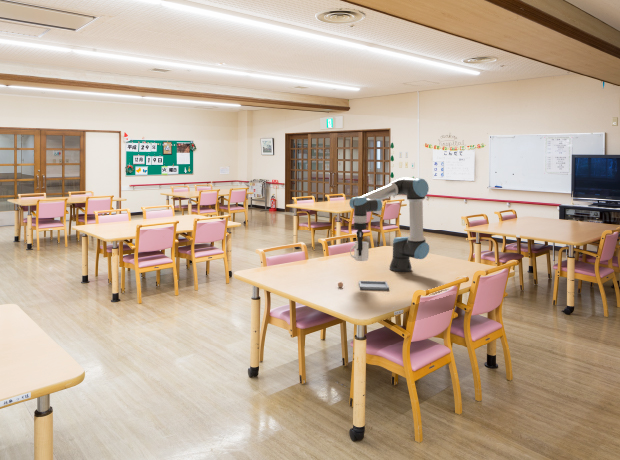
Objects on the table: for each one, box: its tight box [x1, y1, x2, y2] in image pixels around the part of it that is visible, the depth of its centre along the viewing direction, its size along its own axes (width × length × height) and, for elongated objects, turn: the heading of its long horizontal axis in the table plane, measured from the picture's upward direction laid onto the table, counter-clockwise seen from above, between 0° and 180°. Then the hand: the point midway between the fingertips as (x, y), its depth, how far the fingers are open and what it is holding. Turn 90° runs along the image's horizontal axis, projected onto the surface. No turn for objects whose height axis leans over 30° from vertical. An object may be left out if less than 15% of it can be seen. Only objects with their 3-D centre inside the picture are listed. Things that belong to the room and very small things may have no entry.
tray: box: [358, 280, 390, 291], centre depth 294 cm, size 17×14×2 cm
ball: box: [337, 281, 344, 288], centre depth 292 cm, size 3×3×3 cm
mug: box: [349, 240, 370, 262], centre depth 296 cm, size 9×12×11 cm
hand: (359, 258), depth 297 cm, fingers closed on mug, 9 cm apart
